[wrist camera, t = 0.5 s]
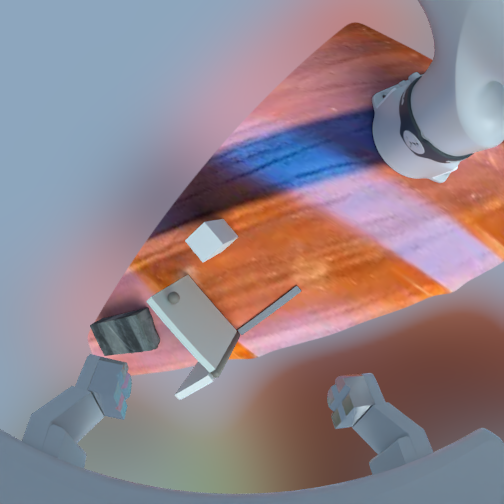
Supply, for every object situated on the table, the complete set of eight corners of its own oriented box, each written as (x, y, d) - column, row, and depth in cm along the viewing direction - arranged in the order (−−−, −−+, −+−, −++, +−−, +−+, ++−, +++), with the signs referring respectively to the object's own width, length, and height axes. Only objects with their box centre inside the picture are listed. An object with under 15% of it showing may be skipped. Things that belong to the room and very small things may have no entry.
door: (177, 284, 49) (139, 308, 36) (194, 268, 48) (158, 289, 35) (229, 343, 49) (207, 383, 36) (248, 330, 48) (230, 369, 35)
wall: (296, 285, 45) (293, 318, 32) (301, 290, 45) (299, 325, 32) (203, 353, 51) (174, 395, 37) (207, 358, 51) (179, 400, 37)
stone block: (165, 345, 53) (153, 357, 48) (118, 351, 56) (105, 361, 51) (148, 306, 52) (135, 315, 47) (103, 316, 55) (89, 325, 50)
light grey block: (223, 218, 46) (204, 221, 37) (238, 236, 46) (223, 244, 37) (206, 234, 47) (184, 240, 38) (221, 252, 47) (202, 262, 38)
